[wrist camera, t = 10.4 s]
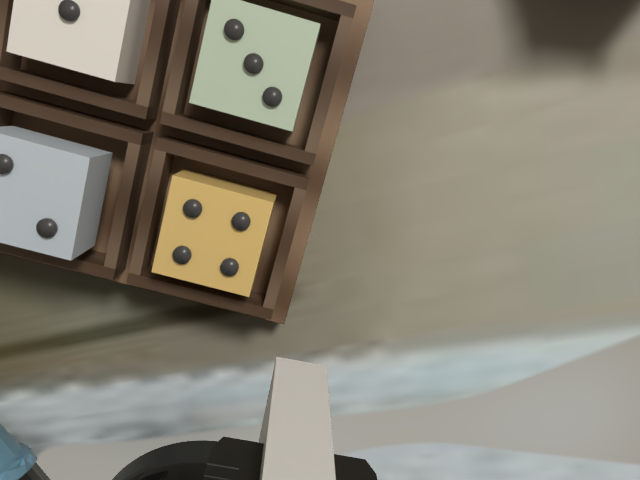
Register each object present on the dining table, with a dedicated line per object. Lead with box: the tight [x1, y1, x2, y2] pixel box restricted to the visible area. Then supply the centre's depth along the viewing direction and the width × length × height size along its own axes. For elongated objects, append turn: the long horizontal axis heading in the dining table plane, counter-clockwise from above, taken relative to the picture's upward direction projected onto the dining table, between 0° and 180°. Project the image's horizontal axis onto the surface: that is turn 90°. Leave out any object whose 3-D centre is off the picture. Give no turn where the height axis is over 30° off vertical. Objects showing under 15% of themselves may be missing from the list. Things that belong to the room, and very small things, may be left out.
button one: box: [6, 0, 151, 84], centre depth 27 cm, size 5×5×3 cm
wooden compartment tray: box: [0, 0, 374, 324], centre depth 30 cm, size 18×18×4 cm
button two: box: [0, 126, 113, 261], centre depth 27 cm, size 5×5×3 cm
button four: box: [151, 169, 277, 297], centre depth 29 cm, size 5×5×3 cm
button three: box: [189, 0, 320, 131], centre depth 27 cm, size 5×5×3 cm
